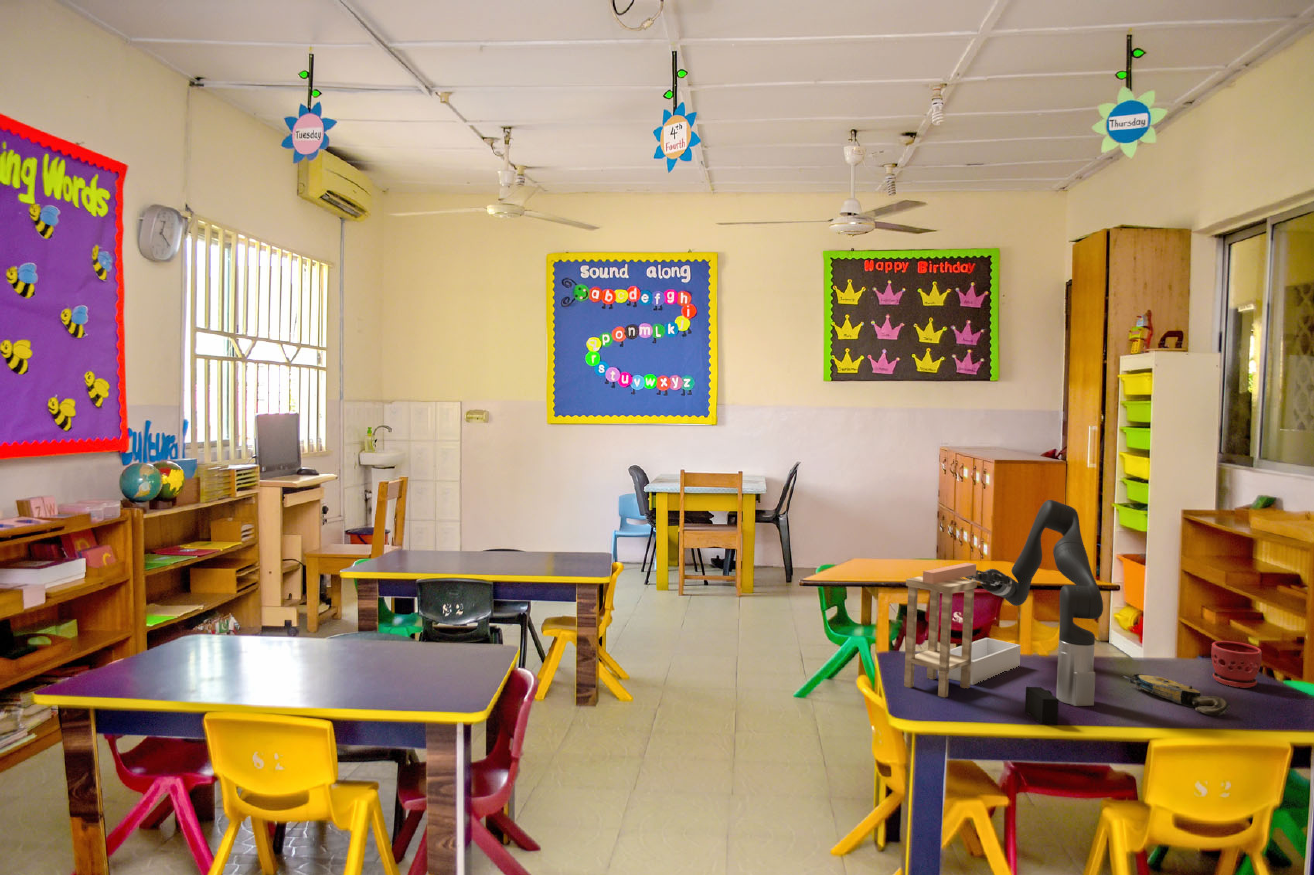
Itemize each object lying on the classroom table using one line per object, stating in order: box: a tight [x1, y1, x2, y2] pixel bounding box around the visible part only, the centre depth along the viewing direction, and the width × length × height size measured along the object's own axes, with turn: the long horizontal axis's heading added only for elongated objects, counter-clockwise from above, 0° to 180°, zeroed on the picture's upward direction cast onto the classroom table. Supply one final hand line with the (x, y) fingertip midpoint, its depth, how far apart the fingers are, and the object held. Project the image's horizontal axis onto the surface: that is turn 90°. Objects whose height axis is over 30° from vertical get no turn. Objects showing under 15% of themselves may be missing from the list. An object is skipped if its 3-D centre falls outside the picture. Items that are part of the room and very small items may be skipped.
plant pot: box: [1210, 640, 1263, 689], centre depth 274 cm, size 13×13×12 cm
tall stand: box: [903, 575, 978, 698], centre depth 261 cm, size 16×14×32 cm
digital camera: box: [1024, 686, 1060, 726], centre depth 237 cm, size 10×5×7 cm, turn 1°
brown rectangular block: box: [922, 562, 977, 584], centre depth 264 cm, size 26×3×3 cm, turn 133°
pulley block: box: [1123, 673, 1231, 716], centre depth 255 cm, size 14×6×30 cm
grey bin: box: [936, 637, 1021, 686], centre depth 279 cm, size 32×12×7 cm, turn 133°
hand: (980, 573), depth 276 cm, fingers open, 8 cm apart
